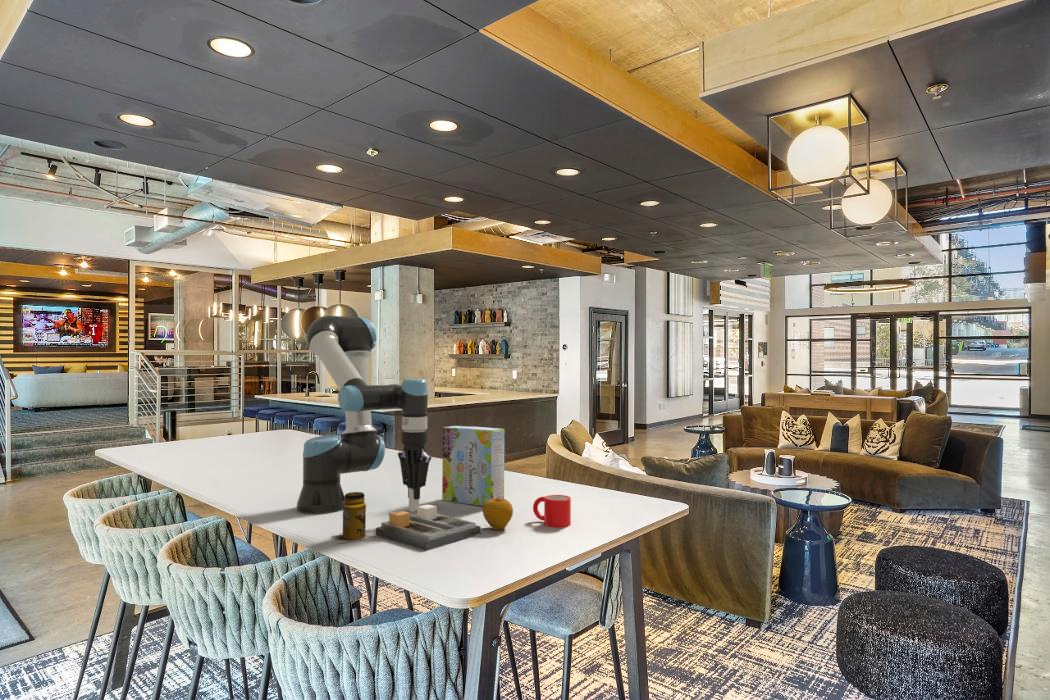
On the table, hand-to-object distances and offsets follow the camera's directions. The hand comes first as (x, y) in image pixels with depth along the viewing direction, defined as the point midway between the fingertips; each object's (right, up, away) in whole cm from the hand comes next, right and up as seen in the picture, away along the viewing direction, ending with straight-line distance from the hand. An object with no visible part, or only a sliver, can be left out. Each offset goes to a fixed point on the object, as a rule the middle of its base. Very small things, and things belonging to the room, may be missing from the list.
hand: (413, 509), depth 179 cm
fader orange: (-2, -1, -11) cm, 12 cm away
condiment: (-14, -4, -15) cm, 21 cm away
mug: (+41, -4, +1) cm, 41 cm away
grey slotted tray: (+6, -4, -12) cm, 14 cm away
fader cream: (+5, -2, -4) cm, 6 cm away
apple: (+25, -4, -6) cm, 26 cm away
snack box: (+15, -5, +28) cm, 32 cm away
